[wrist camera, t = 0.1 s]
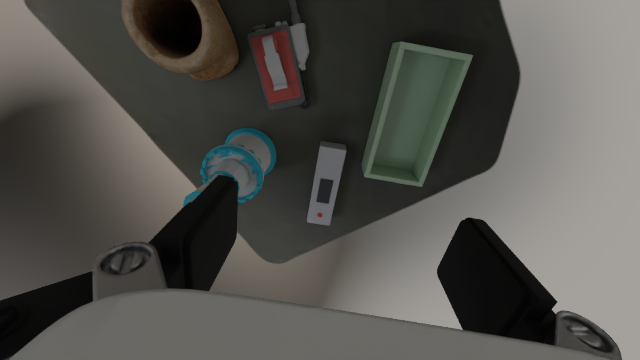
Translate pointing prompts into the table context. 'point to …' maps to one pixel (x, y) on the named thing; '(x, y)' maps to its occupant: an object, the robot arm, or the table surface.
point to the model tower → (239, 162)
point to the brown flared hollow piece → (183, 35)
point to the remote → (326, 182)
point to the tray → (412, 111)
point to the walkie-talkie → (281, 61)
